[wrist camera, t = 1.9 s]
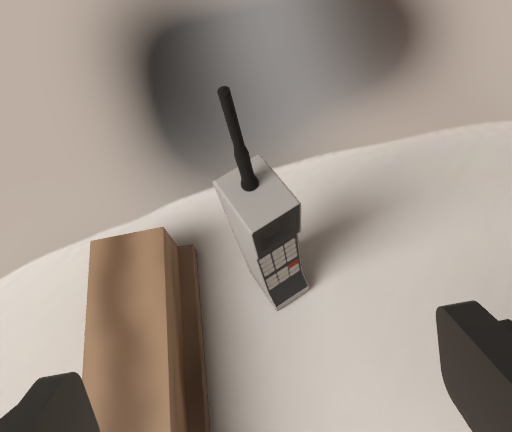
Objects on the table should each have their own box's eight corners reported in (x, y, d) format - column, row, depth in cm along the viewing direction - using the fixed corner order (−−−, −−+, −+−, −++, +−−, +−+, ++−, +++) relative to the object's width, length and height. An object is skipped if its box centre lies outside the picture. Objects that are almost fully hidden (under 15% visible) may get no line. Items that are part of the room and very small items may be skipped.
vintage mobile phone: (277, 312, 40) (220, 148, 18) (249, 271, 42) (171, 84, 21) (310, 290, 41) (292, 107, 19) (281, 251, 43) (236, 49, 21)
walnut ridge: (196, 250, 44) (179, 223, 39) (215, 500, 33) (195, 510, 28) (104, 267, 45) (75, 244, 40) (93, 520, 34) (51, 532, 29)
